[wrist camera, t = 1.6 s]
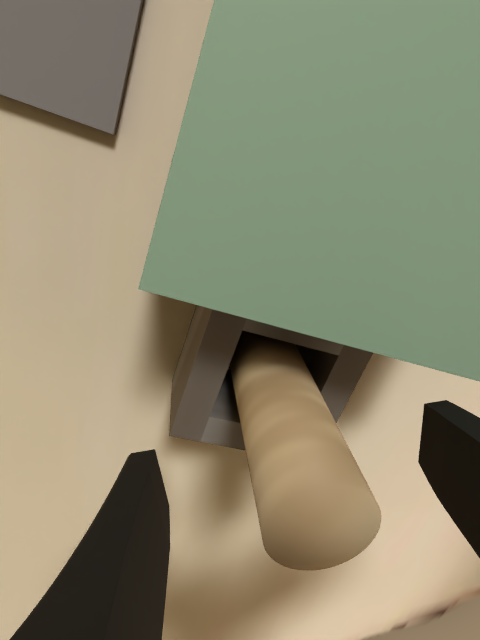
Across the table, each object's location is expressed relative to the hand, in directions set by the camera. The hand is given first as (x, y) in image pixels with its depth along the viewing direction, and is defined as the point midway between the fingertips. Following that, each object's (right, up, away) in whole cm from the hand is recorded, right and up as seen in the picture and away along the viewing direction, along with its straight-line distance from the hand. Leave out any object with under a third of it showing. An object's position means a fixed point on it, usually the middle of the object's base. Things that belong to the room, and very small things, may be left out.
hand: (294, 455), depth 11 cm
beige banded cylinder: (-1, +3, +6) cm, 7 cm away
